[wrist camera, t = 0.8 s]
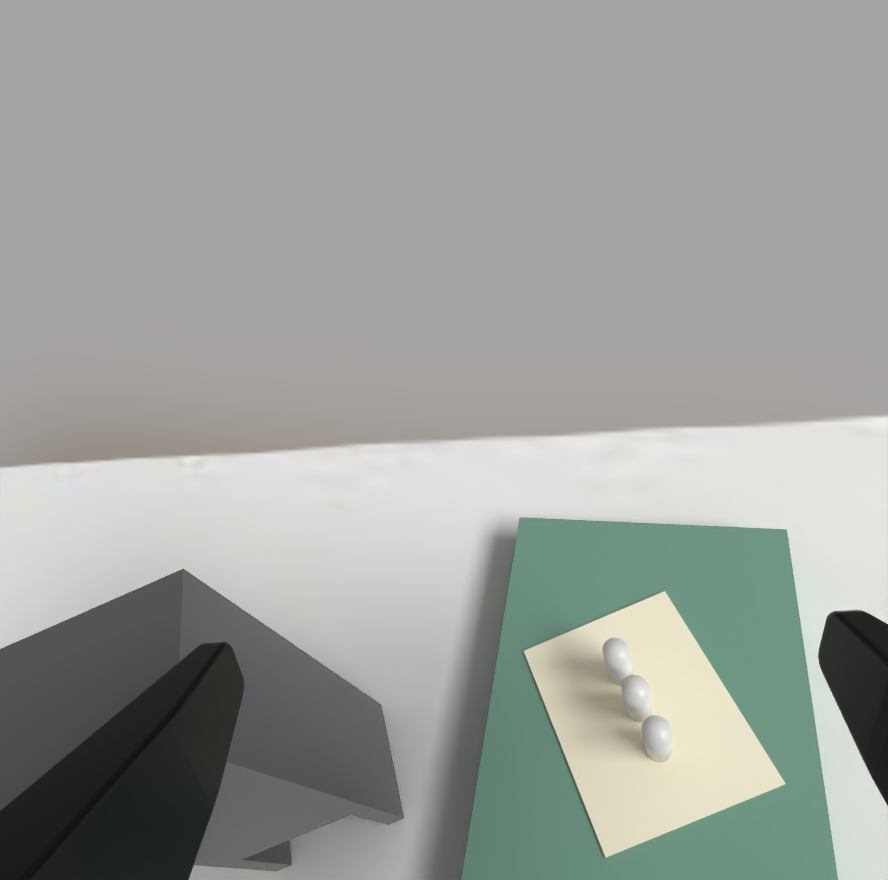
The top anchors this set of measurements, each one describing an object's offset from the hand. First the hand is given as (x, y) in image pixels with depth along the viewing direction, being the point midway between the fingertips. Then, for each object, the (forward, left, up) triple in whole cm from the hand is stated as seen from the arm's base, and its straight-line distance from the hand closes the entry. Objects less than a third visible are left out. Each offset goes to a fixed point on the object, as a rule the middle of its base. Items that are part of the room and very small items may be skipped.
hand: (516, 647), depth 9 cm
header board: (+2, -1, -14) cm, 14 cm away
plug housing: (-2, +10, -14) cm, 17 cm away
